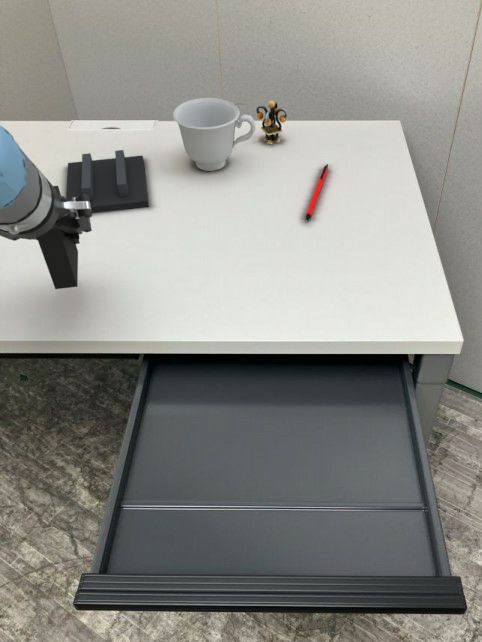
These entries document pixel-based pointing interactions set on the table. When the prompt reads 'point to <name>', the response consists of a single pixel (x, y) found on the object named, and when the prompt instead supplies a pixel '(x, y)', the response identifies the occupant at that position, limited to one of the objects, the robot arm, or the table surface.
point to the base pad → (109, 182)
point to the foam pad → (60, 257)
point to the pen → (316, 193)
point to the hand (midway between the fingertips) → (62, 235)
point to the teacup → (210, 130)
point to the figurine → (271, 121)
